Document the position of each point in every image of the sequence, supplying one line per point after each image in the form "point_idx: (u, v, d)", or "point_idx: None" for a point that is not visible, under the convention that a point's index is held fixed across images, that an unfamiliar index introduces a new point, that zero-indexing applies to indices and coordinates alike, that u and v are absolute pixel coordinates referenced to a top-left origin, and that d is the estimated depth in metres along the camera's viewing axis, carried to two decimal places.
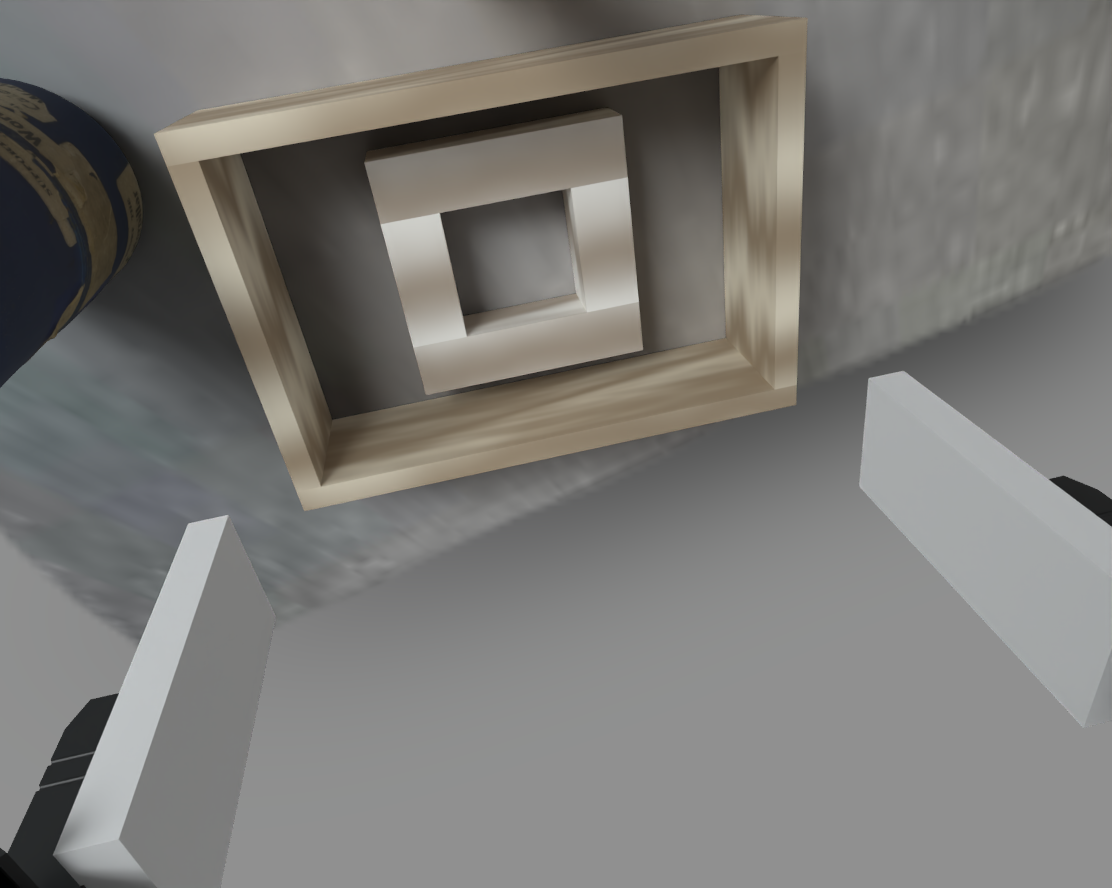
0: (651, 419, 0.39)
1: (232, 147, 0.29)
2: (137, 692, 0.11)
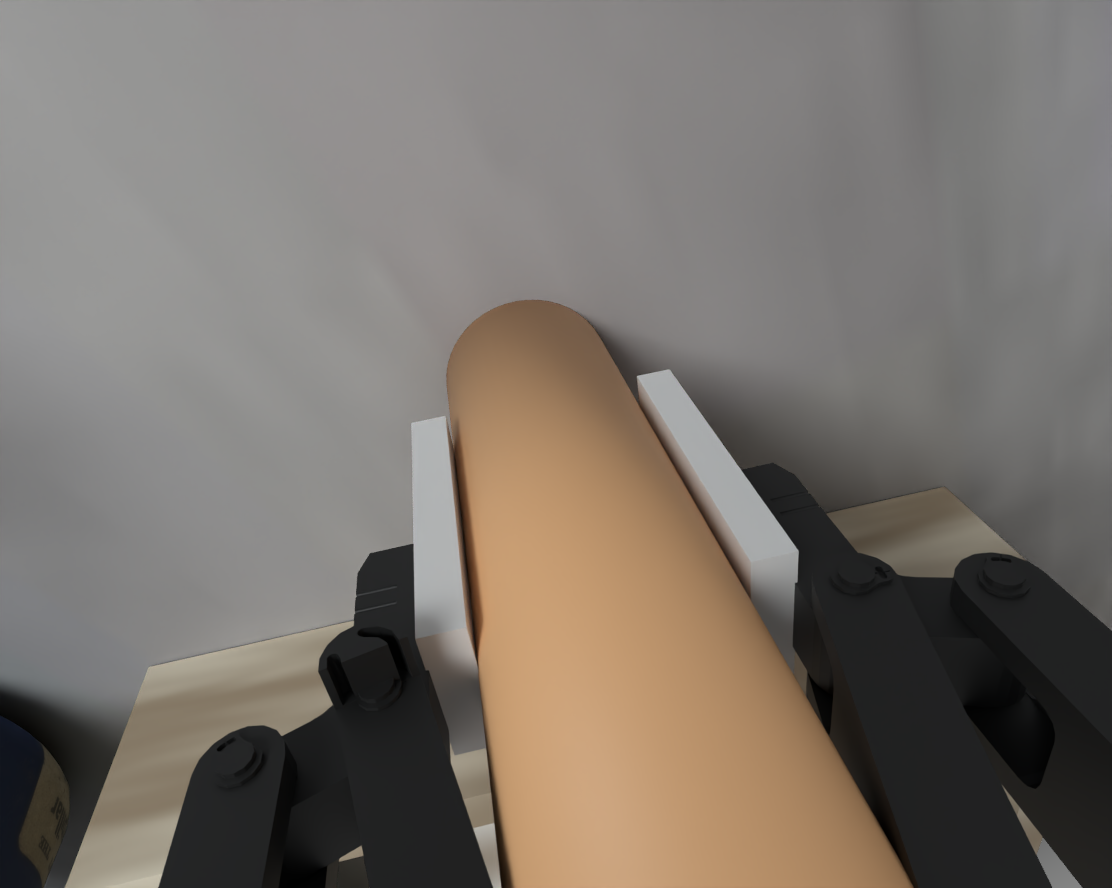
0: None
1: None
2: (429, 536, 0.13)
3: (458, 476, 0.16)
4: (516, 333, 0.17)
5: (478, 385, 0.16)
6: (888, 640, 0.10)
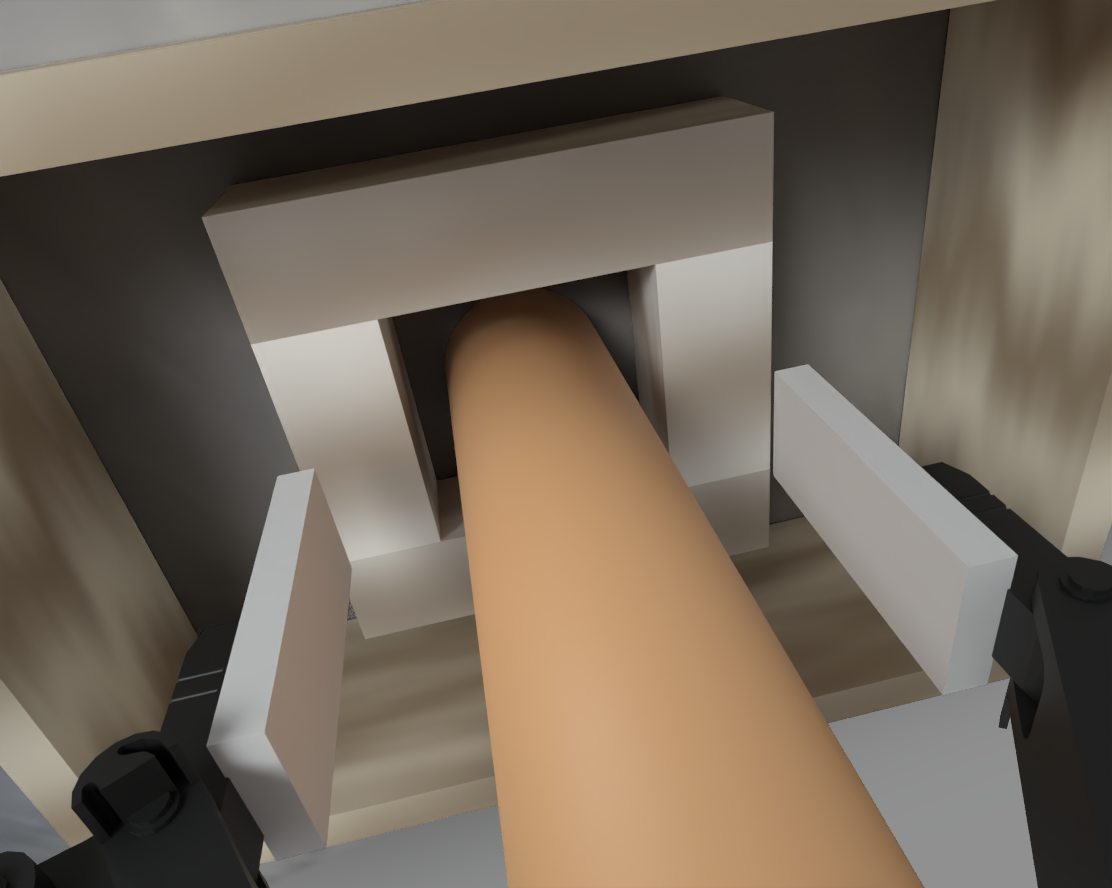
0: None
1: None
2: (257, 616, 0.12)
3: (457, 452, 0.16)
4: (512, 318, 0.18)
5: (476, 366, 0.17)
6: None
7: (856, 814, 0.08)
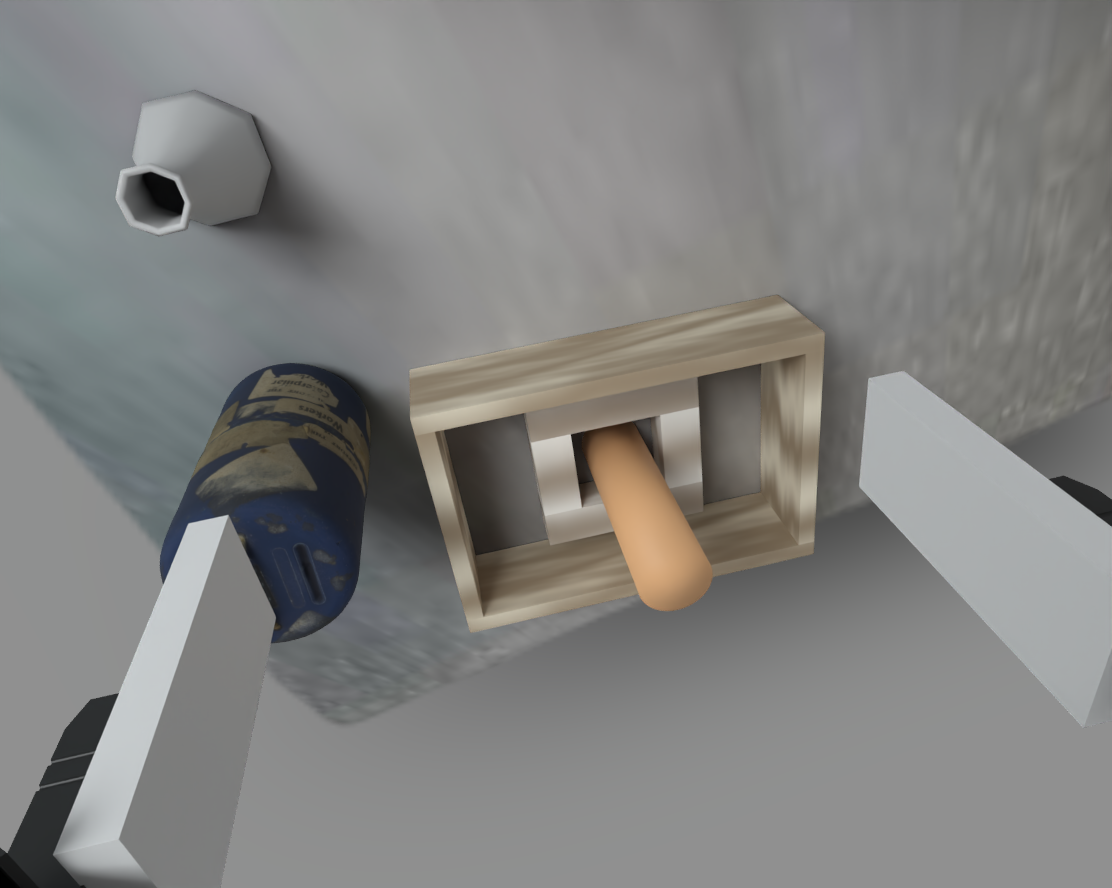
0: (712, 567, 0.55)
1: (456, 423, 0.46)
2: (137, 692, 0.11)
3: (596, 477, 0.52)
4: (611, 430, 0.54)
5: (601, 448, 0.53)
6: None
7: (695, 546, 0.43)
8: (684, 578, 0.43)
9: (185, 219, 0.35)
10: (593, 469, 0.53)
